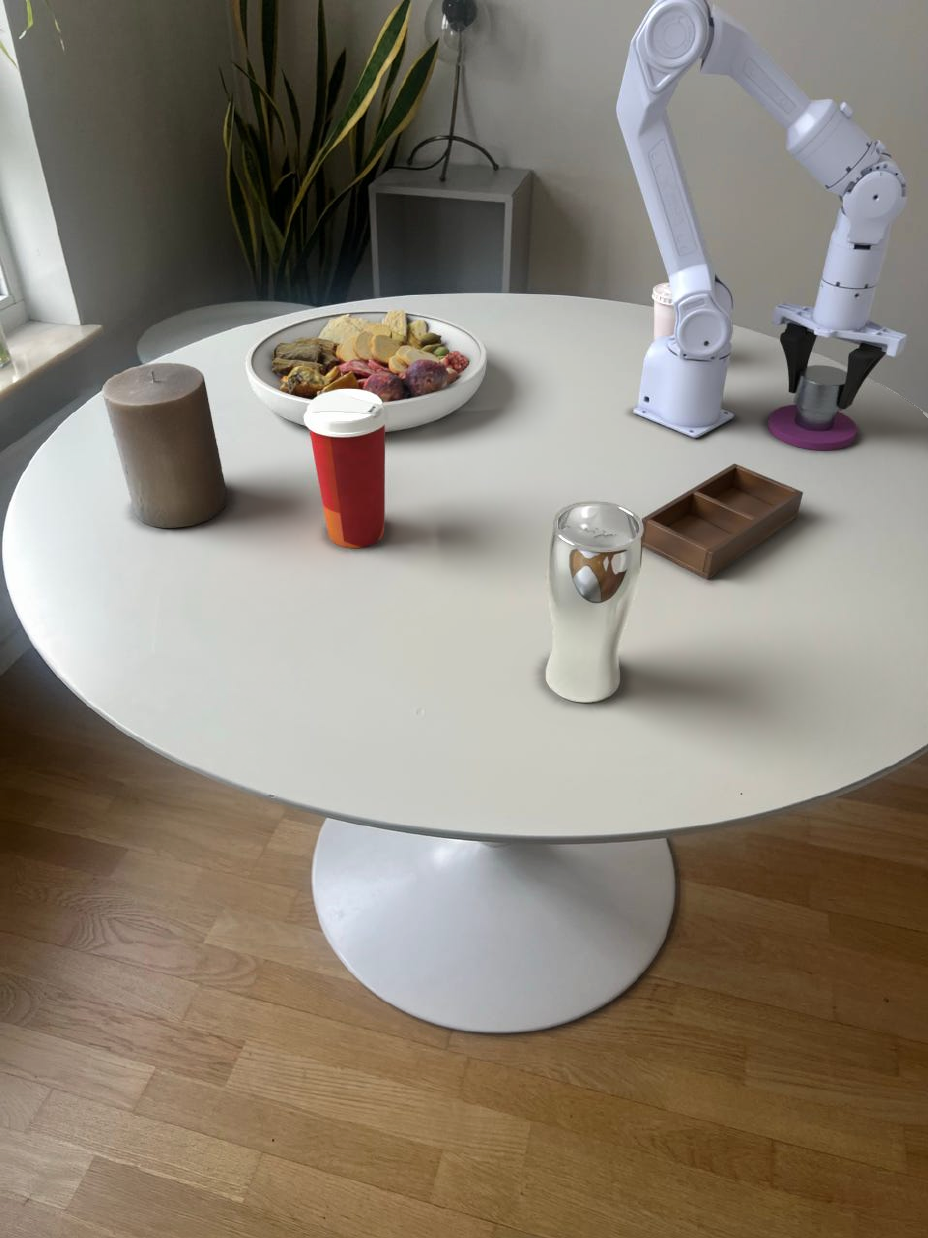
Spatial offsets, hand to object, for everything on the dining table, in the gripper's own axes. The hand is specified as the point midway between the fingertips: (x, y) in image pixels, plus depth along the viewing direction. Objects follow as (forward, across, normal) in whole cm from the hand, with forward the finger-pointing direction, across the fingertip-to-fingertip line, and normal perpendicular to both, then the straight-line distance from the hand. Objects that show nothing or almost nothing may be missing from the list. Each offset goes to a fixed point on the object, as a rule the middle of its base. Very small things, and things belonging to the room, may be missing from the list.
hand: (819, 397), depth 108 cm
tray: (+4, +3, -26) cm, 27 cm away
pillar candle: (+4, -41, -60) cm, 73 cm away
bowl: (+4, -47, -28) cm, 55 cm away
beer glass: (+4, +6, -54) cm, 54 cm away
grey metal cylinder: (+3, 0, 0) cm, 3 cm away
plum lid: (+4, 0, 0) cm, 4 cm away
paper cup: (+4, -23, -52) cm, 57 cm away
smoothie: (+4, -24, +6) cm, 25 cm away
